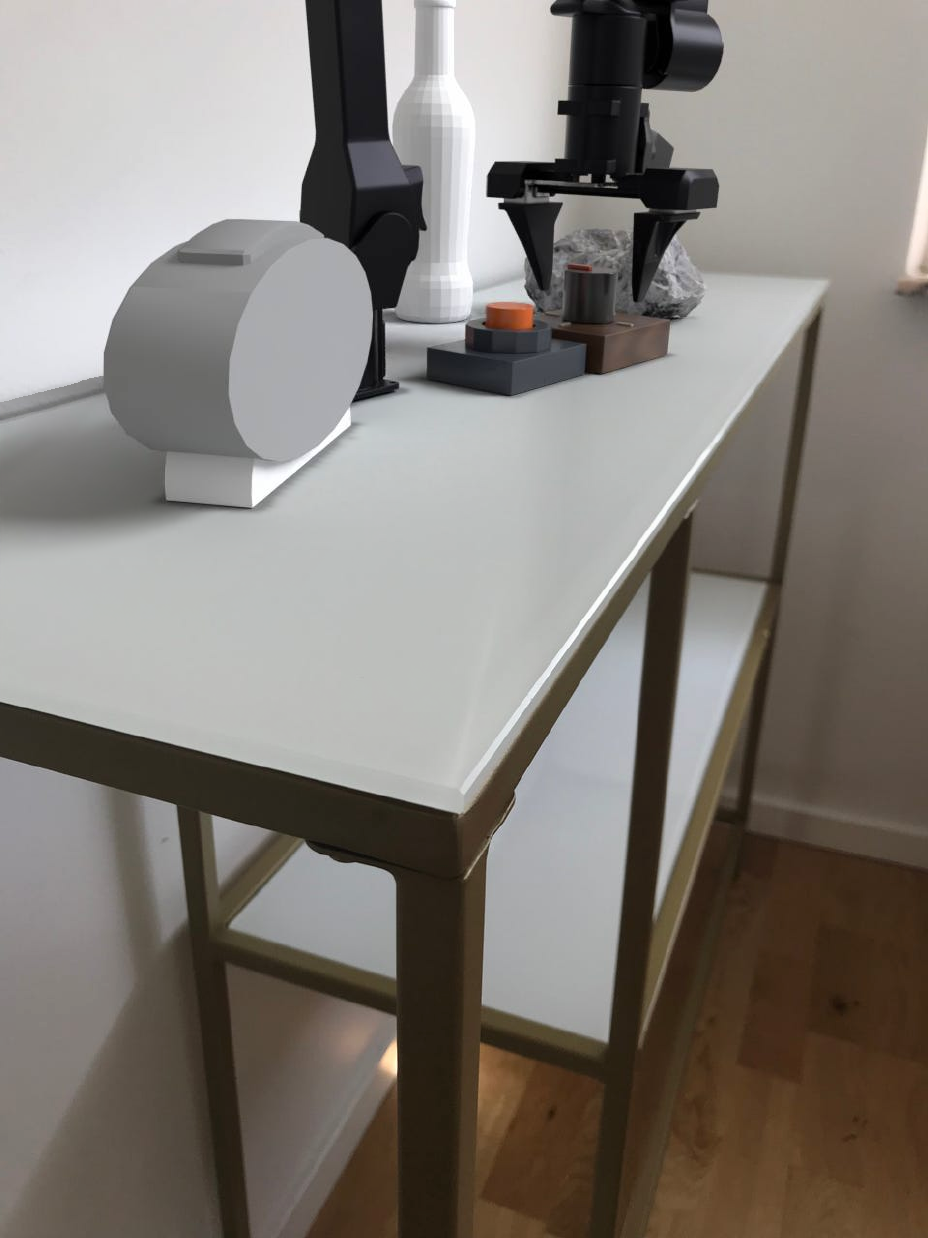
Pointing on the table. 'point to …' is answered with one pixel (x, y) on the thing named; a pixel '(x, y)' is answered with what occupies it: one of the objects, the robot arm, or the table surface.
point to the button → (509, 315)
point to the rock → (622, 274)
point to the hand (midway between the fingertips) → (590, 295)
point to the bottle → (437, 171)
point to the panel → (613, 339)
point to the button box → (506, 358)
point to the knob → (589, 294)
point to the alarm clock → (240, 356)
